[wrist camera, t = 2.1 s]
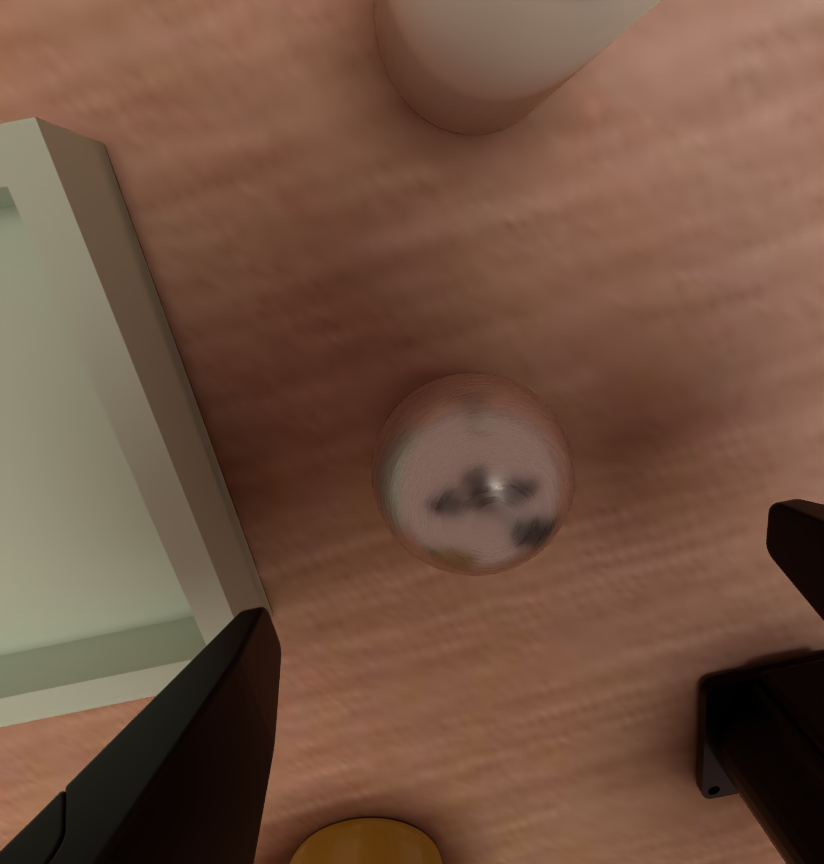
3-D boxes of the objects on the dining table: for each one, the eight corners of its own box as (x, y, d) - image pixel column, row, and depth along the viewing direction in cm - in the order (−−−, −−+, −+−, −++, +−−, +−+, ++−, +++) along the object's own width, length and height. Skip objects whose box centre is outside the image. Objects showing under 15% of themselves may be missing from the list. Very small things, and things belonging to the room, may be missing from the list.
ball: (543, 493, 16) (617, 597, 11) (389, 524, 16) (398, 642, 11) (529, 338, 14) (609, 384, 9) (354, 373, 14) (347, 436, 9)
